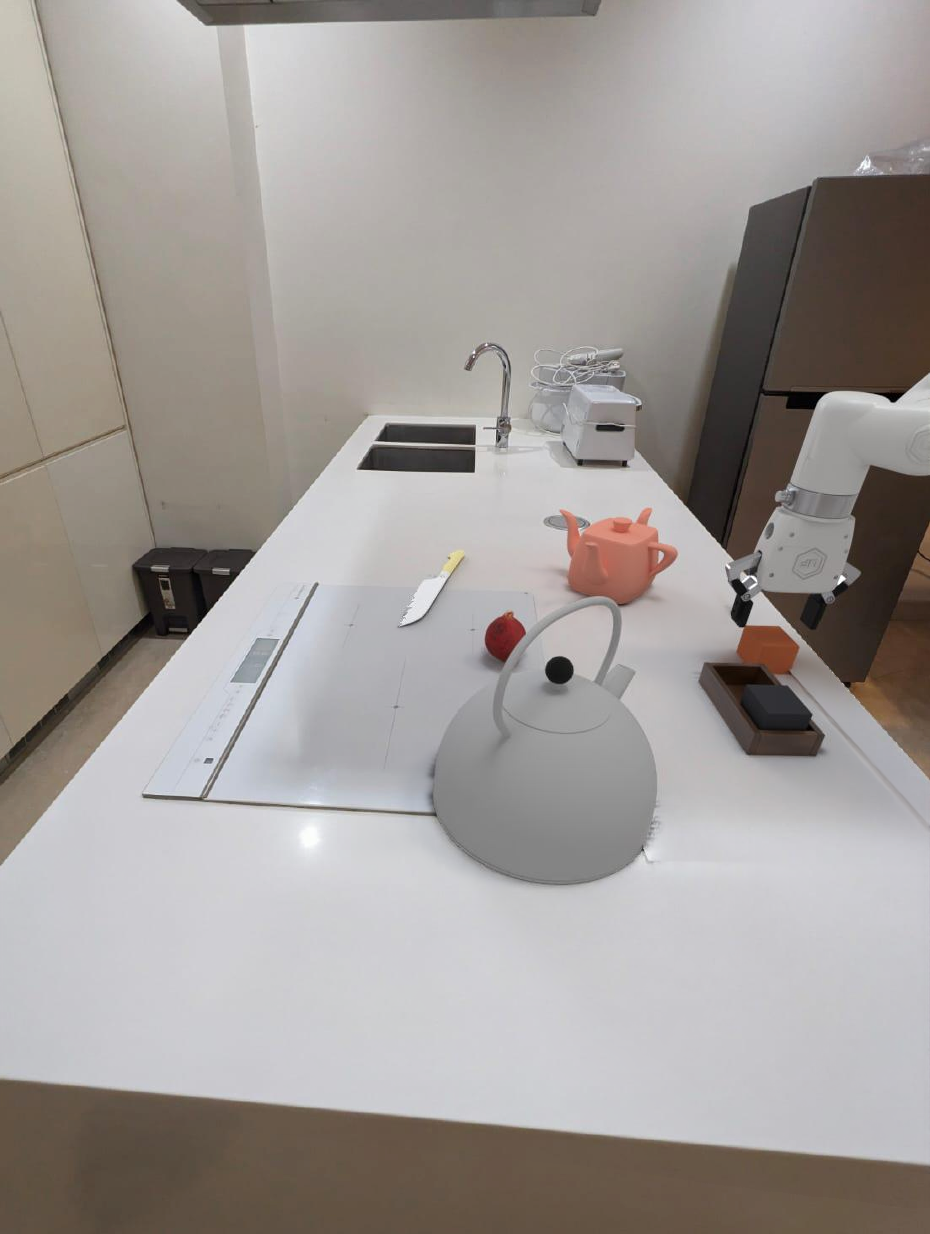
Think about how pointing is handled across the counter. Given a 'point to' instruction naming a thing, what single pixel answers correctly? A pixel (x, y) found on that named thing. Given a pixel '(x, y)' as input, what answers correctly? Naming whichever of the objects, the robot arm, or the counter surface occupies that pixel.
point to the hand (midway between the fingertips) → (772, 624)
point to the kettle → (549, 769)
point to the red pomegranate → (503, 636)
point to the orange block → (768, 648)
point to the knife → (430, 590)
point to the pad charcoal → (775, 708)
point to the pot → (615, 557)
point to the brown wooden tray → (726, 694)
